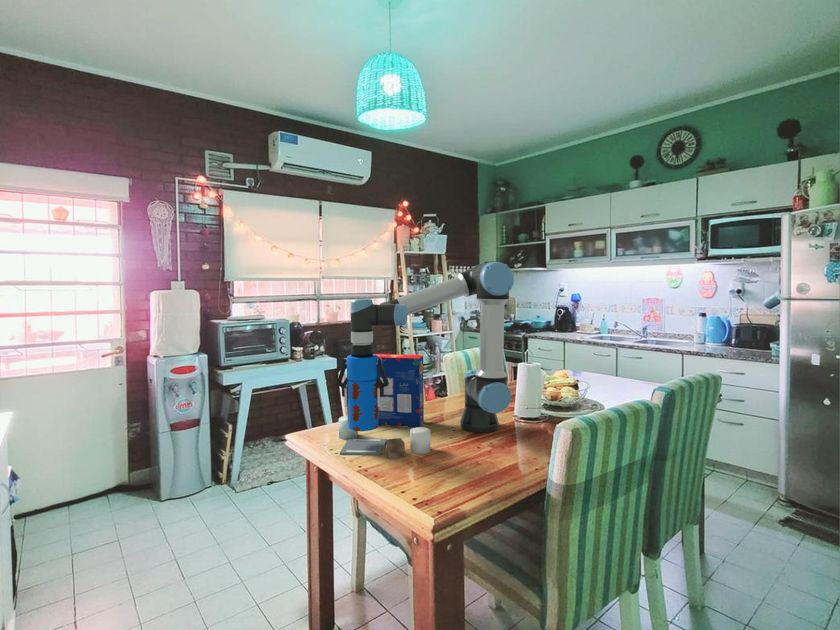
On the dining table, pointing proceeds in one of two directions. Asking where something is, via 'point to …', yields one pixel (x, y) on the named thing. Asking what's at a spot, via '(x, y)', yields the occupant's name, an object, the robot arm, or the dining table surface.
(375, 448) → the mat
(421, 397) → the pasta box
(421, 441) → the white rounded cylinder
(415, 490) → the dining table surface
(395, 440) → the walnut block
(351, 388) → the thermos
